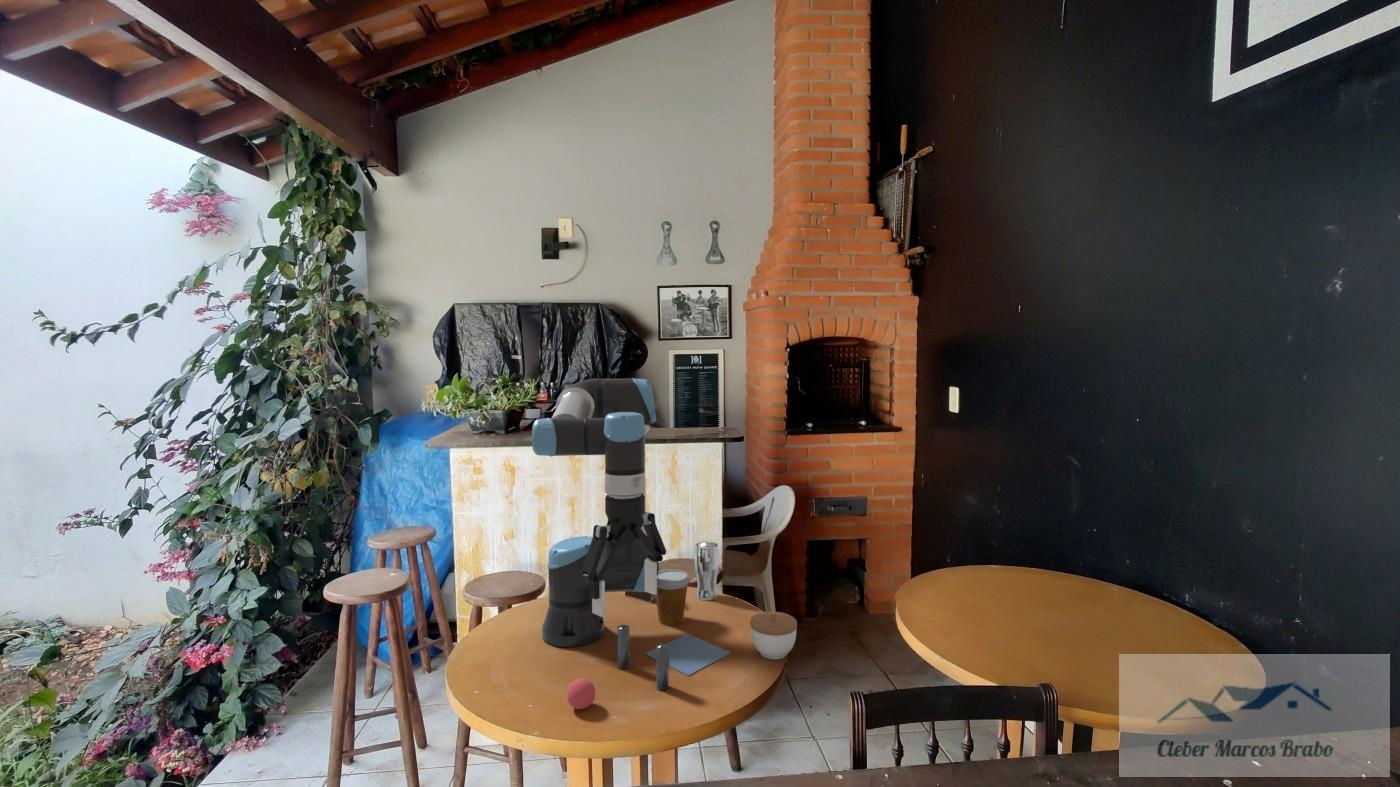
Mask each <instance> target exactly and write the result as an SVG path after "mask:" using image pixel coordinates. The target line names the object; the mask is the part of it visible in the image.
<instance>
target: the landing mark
mask: <svg viewBox="0 0 1400 787" xmlns="http://www.w3.org/2000/svg"><path fill="white" fill-rule="evenodd" d="M666 643H667V642H666ZM667 644H668V645H669V668H671V669H673V670H675V671H678V672H679V673H681V674H684V675H686V676H687V677H690V676H691V675H693V674H695V673H697V672H698V671H700V670H703V669H705V668H706V667H708V666H710V665H712V664H714V663H716V662H717V661H719V660H722V659H724V658H725V657H727V656H728V655H730V654H731V655H732V653H731V652H730V651H729V650H727V649H724V648H722V647H719V646H717V645H714V644H712V643H710V642H707V641H705V640H702V639H700V638H698V637H696V636H694V635H691V634H689V633H687V634H685V635H681V636H680V637H679V638H676V639H674V640H672V641H669V642H668V643H667ZM645 654H646V656H647V655H648V656H647V657H649V656H650V657H649V658H651V657H652V658H651V659H653V658H654V659H653V660H655V661H656V648H655V649H652V650H650V651H648V652H646V653H645Z"/></svg>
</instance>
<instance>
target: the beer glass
mask: <svg viewBox="0 0 1400 787" xmlns="http://www.w3.org/2000/svg"><path fill="white" fill-rule="evenodd" d="M694 547H695V549H694V570H695V575H696V579H697V580H696V582H697V586H696V587H697V589H696V595H695V597H696V599H698V600H701V601H705V602H706V601H713V600H716V599H717V598H718V592H717V591H718V590H717V579H718V572H719V566H720V551H719V544H718V543H717V542H715V541H714V542H713V541H707V540H706V541H699V542H697V543H695V546H694Z"/></svg>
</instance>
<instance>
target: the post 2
mask: <svg viewBox="0 0 1400 787" xmlns="http://www.w3.org/2000/svg"><path fill="white" fill-rule="evenodd" d="M655 647H656V648H655V649H656V660H655V661H656V662H655V663H656V664H655V666H656V668H655V669H656V670H655V671H656V673H655V674H656V675H655V676H656V677H655V678H656V680H655V683H656V684H655V685H656V690H657V691H659V692H660V691H661V692H663V691H664V692H665V691H668V690H669V687H670V669H669V668H670V667H669V645H668V644H667V642H659V643H657V644H655Z"/></svg>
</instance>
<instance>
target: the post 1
mask: <svg viewBox="0 0 1400 787" xmlns="http://www.w3.org/2000/svg"><path fill="white" fill-rule="evenodd" d="M629 668H630V625H627V624H620V625H618V626H617V669H619V670H621V671H622V670H628V669H629Z"/></svg>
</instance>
